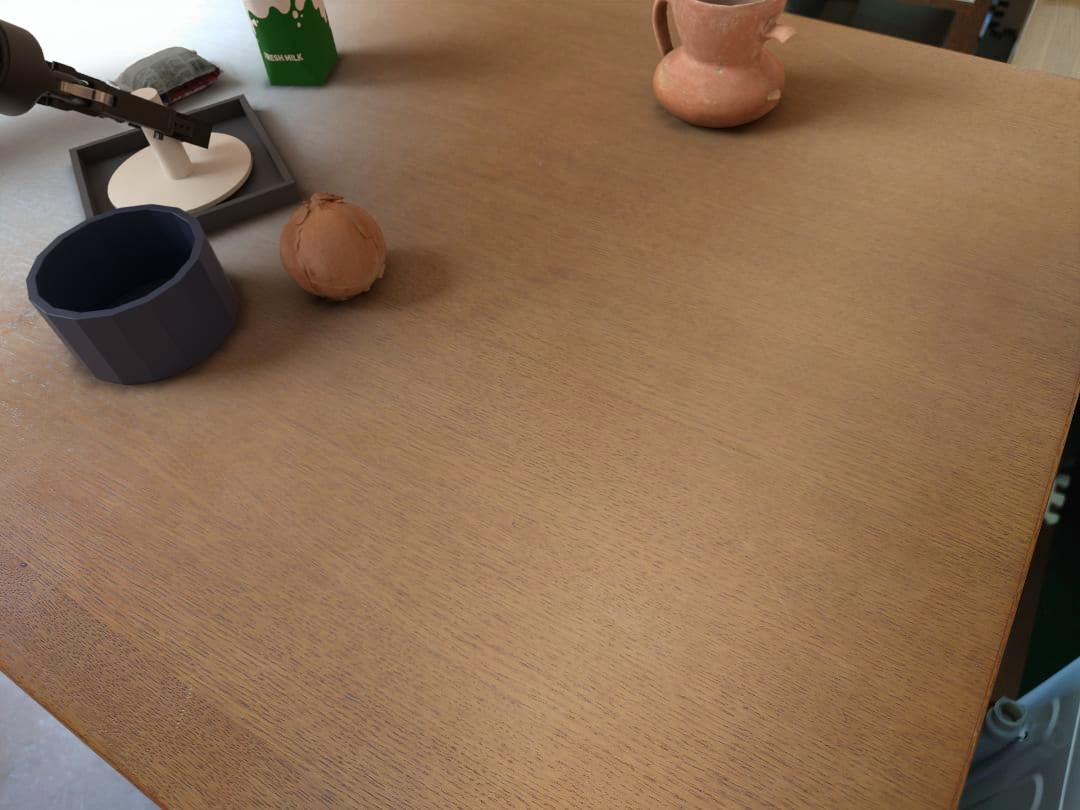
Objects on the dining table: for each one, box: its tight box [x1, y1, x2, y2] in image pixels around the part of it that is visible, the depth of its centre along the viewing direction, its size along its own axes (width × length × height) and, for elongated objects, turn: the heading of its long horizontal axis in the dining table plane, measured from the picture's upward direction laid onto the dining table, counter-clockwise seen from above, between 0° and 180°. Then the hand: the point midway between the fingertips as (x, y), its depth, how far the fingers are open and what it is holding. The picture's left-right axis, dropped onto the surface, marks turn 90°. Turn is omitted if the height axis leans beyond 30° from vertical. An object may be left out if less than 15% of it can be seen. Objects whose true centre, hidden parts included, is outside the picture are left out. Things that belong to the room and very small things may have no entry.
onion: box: [279, 191, 387, 302], centre depth 71 cm, size 10×9×10 cm
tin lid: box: [108, 88, 253, 215], centre depth 83 cm, size 16×16×10 cm
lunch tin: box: [25, 204, 240, 385], centre depth 69 cm, size 15×15×8 cm
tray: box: [68, 93, 302, 235], centre depth 86 cm, size 22×21×3 cm
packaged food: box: [107, 46, 225, 107], centre depth 99 cm, size 9×12×5 cm
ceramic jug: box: [651, 0, 798, 129], centre depth 84 cm, size 18×14×14 cm
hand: (195, 132), depth 86 cm, fingers closed on tin lid, 3 cm apart
